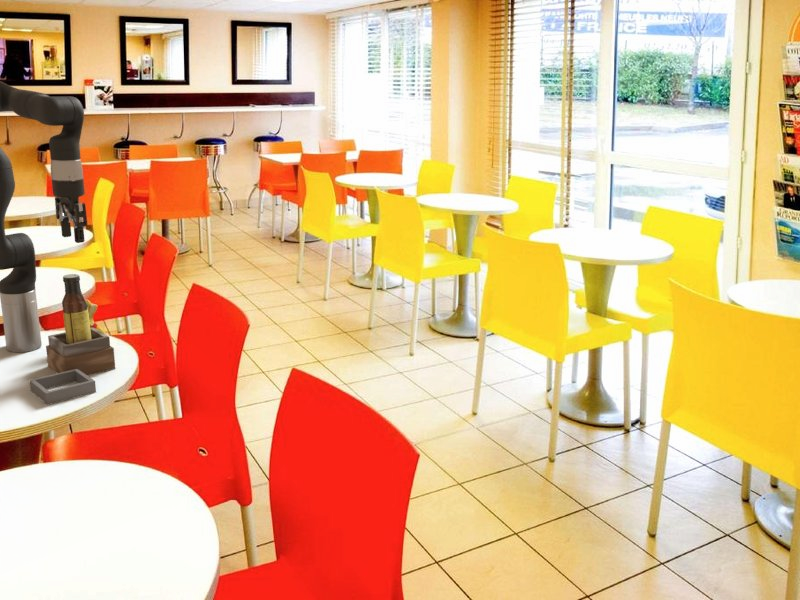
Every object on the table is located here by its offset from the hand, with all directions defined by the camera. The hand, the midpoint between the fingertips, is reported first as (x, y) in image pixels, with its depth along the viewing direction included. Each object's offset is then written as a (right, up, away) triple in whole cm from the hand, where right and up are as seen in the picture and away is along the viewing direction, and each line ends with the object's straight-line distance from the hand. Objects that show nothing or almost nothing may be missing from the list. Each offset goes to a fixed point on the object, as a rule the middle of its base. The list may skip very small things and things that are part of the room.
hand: (73, 239), depth 201 cm
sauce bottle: (-2, -29, +7) cm, 30 cm away
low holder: (0, -39, -7) cm, 40 cm away
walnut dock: (-1, -34, +9) cm, 35 cm away
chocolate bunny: (-5, -30, +22) cm, 38 cm away
